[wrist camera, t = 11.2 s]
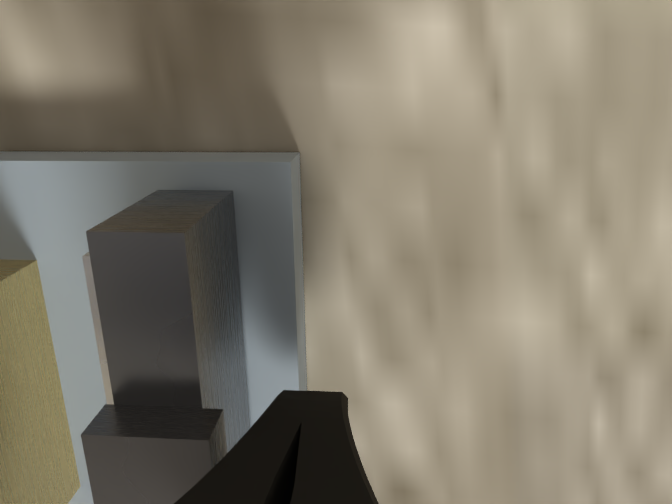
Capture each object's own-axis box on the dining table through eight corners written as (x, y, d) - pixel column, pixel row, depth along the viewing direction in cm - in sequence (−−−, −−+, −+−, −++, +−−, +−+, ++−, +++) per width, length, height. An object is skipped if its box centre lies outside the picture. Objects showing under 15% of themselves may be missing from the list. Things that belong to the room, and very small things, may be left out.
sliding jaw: (187, 544, 14) (123, 701, 11) (143, 189, 11) (34, 248, 8) (272, 550, 14) (235, 710, 10) (251, 190, 11) (190, 251, 7)
